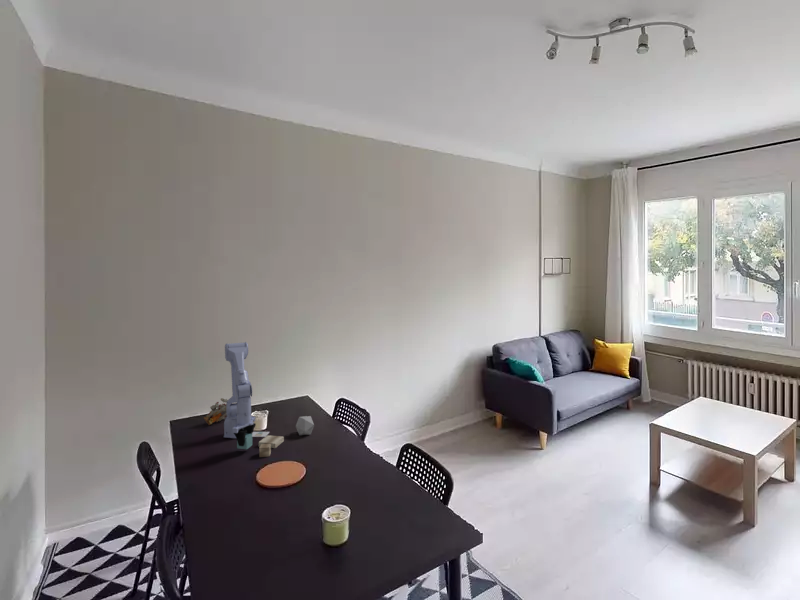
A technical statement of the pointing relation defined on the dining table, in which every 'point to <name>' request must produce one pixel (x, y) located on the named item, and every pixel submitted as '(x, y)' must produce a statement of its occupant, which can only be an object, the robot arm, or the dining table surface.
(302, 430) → the die
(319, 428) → the dining table surface
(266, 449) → the block
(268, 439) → the birch slab
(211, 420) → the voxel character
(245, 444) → the teal cube
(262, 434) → the blueprint card
